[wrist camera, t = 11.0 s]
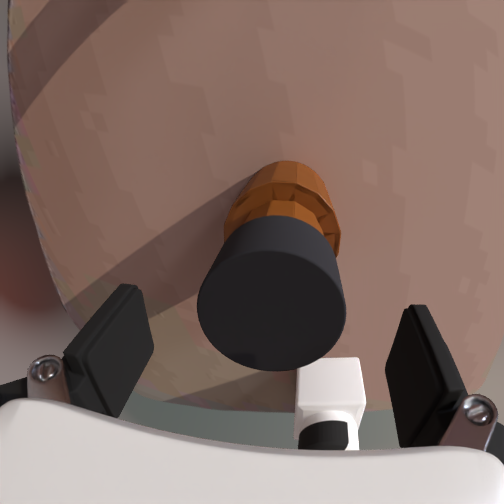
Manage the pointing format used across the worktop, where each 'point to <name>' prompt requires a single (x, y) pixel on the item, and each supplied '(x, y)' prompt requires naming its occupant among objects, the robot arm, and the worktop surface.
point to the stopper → (273, 295)
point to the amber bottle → (286, 200)
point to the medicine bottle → (329, 404)
